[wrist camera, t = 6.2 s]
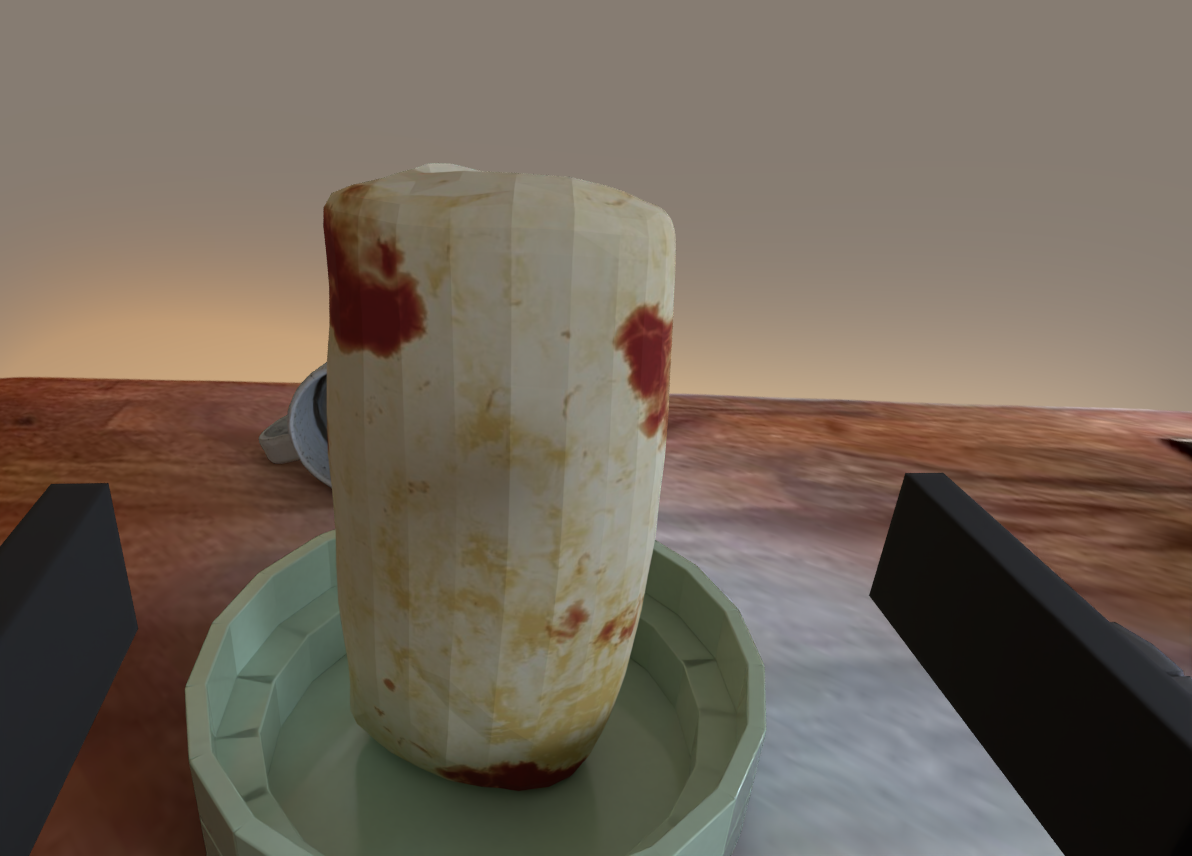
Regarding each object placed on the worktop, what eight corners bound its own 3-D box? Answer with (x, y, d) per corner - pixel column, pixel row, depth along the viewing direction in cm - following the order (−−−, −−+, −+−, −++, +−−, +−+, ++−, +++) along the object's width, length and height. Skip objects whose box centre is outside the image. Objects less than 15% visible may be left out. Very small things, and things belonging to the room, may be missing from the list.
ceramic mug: (462, 436, 50) (462, 319, 47) (432, 505, 43) (429, 372, 40) (294, 422, 51) (281, 305, 47) (236, 488, 43) (216, 354, 40)
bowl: (356, 563, 38) (351, 471, 36) (742, 632, 36) (761, 539, 34) (66, 946, 22) (25, 822, 20) (736, 1112, 20) (773, 994, 18)
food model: (315, 802, 26) (252, 160, 17) (385, 659, 32) (365, 128, 23) (614, 848, 26) (707, 209, 17) (628, 695, 32) (703, 165, 23)
